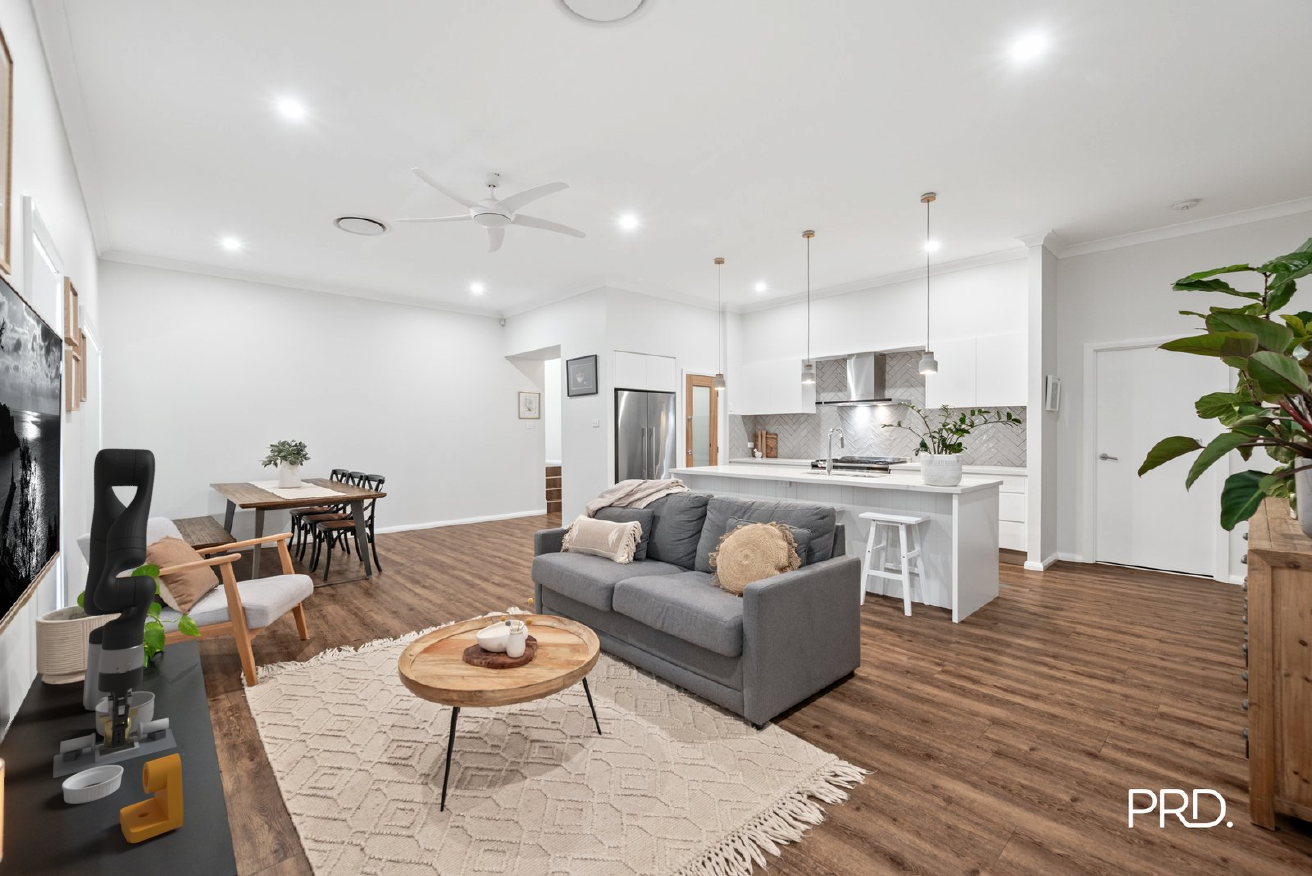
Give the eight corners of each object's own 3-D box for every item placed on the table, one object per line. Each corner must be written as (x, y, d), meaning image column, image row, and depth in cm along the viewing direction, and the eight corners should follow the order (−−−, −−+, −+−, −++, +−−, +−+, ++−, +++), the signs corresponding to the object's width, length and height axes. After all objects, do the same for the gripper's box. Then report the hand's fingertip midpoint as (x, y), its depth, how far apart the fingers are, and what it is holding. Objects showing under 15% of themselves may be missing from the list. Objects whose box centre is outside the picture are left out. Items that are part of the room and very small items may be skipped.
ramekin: (68, 817, 112) (70, 794, 112) (54, 801, 116) (55, 779, 117) (129, 795, 119) (130, 773, 119) (113, 781, 124) (114, 760, 124)
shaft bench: (52, 784, 122) (54, 755, 122) (53, 761, 131) (55, 734, 131) (176, 752, 136) (178, 726, 136) (170, 733, 145) (171, 709, 145)
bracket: (118, 823, 110) (122, 758, 111) (167, 806, 116) (171, 744, 116) (131, 849, 104) (135, 779, 104) (182, 830, 109) (186, 763, 110)
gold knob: (98, 751, 130) (99, 720, 130) (97, 744, 133) (99, 713, 133) (136, 742, 134) (138, 712, 134) (135, 735, 137) (136, 705, 137)
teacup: (162, 729, 147) (164, 696, 147) (107, 748, 137) (109, 713, 137) (132, 717, 153) (134, 685, 153) (77, 734, 143) (79, 700, 143)
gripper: (97, 660, 136) (93, 736, 136) (100, 678, 126) (95, 760, 126) (140, 654, 142) (136, 726, 141) (146, 670, 132) (142, 748, 131)
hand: (117, 742), depth 133 cm, fingers closed on gold knob, 4 cm apart
